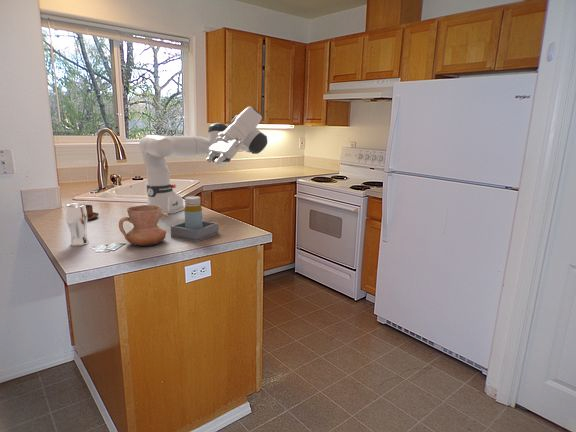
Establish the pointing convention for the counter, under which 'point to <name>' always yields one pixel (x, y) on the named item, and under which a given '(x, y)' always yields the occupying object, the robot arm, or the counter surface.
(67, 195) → the counter surface
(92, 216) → the cup and saucer
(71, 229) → the beer glass
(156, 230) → the ceramic jug
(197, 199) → the bottle
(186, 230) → the box
